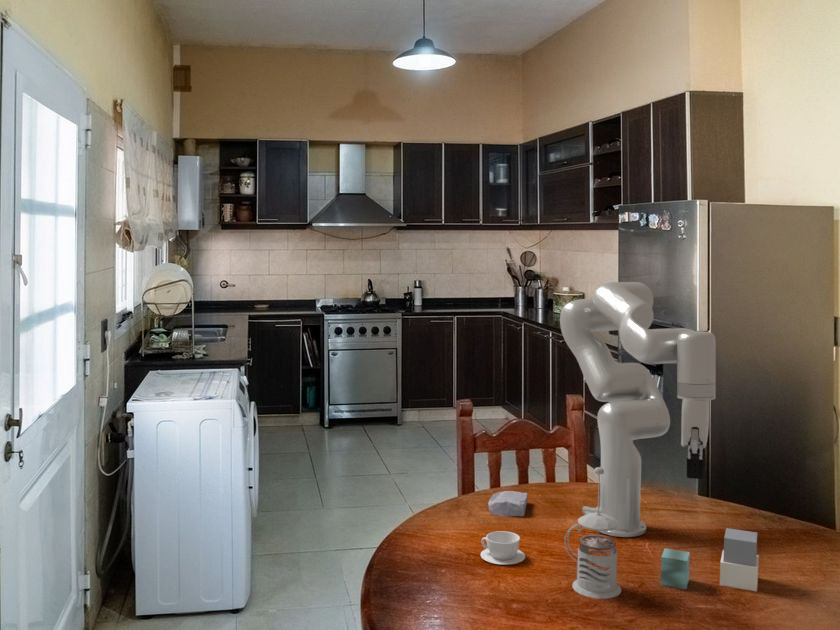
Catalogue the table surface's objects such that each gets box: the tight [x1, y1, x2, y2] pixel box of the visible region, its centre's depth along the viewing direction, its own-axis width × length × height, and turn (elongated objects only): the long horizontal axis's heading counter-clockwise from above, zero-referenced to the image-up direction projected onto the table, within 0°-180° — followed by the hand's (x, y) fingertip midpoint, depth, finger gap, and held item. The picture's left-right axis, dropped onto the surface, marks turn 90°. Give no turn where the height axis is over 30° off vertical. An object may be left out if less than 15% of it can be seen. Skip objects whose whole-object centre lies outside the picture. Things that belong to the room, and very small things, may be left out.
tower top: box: [723, 527, 758, 567], centre depth 160 cm, size 6×6×5 cm
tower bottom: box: [719, 549, 760, 592], centre depth 160 cm, size 7×7×5 cm
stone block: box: [487, 490, 528, 517], centre depth 204 cm, size 12×5×10 cm
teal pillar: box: [660, 548, 691, 591], centre depth 160 cm, size 5×5×6 cm
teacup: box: [480, 530, 526, 565], centre depth 173 cm, size 10×10×5 cm
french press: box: [564, 466, 622, 600], centre depth 157 cm, size 10×12×25 cm
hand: (696, 472), depth 162 cm, fingers open, 9 cm apart
